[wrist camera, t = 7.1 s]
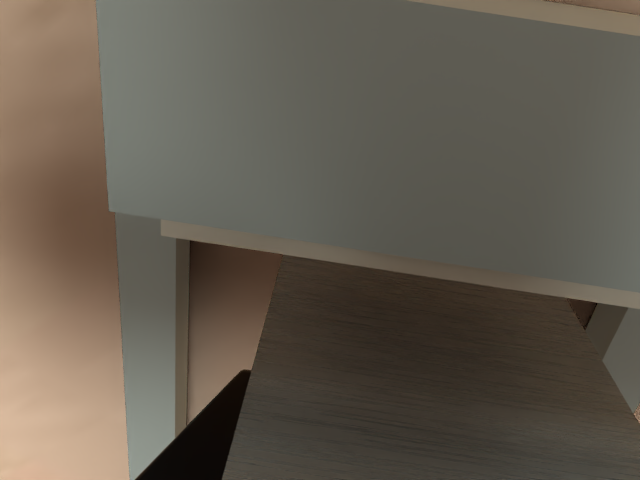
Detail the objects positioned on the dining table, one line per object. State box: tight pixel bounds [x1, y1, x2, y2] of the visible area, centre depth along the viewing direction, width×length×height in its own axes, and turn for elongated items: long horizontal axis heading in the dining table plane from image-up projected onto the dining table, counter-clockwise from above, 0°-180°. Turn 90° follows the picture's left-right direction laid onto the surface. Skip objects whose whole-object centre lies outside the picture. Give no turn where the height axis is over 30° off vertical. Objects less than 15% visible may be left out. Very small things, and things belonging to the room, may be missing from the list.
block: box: [222, 254, 640, 480], centre depth 8 cm, size 4×4×6 cm
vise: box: [96, 0, 640, 480], centre depth 11 cm, size 18×11×5 cm, turn 173°
